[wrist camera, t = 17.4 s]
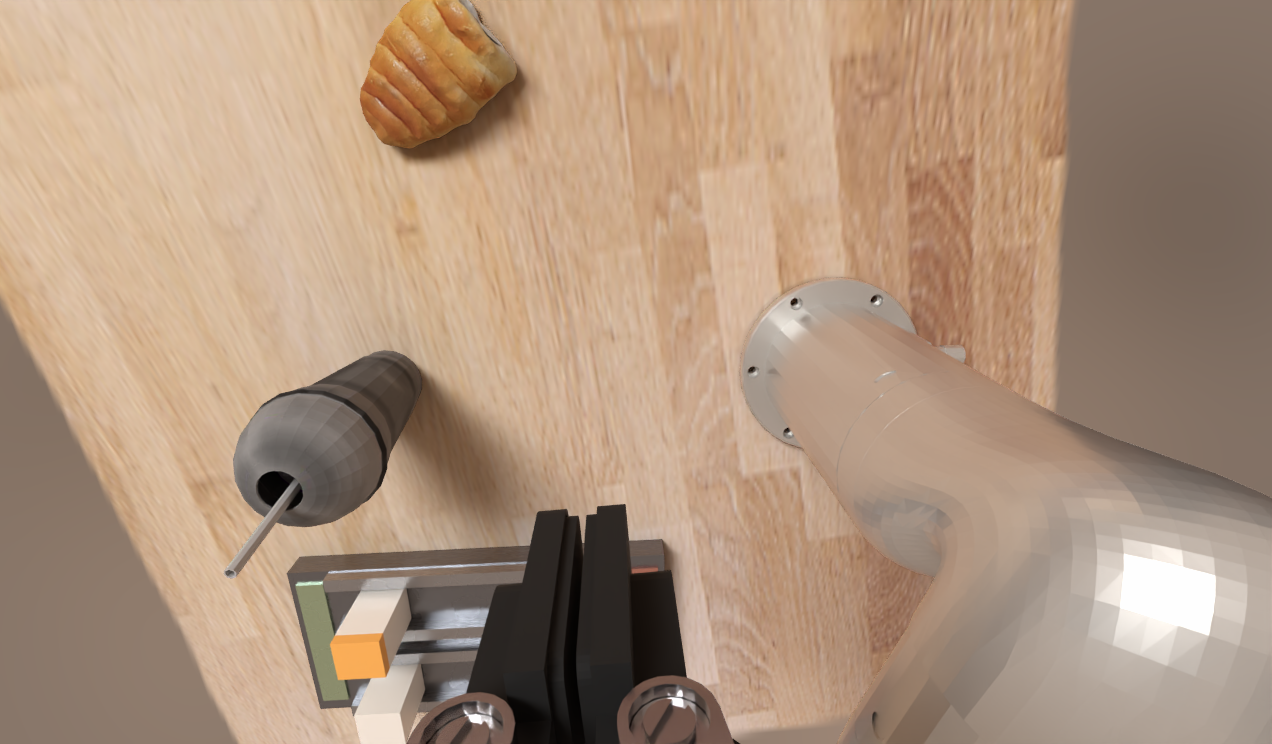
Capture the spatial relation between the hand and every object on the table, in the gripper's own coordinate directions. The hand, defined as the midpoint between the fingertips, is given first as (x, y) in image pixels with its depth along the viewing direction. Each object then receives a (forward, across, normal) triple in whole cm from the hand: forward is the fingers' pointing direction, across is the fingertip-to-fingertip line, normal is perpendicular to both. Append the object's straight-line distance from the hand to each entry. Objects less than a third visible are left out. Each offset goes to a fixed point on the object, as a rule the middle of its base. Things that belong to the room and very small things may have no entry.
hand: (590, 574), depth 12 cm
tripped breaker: (+30, +19, +23) cm, 42 cm away
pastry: (+32, +9, -13) cm, 36 cm away
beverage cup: (+32, +16, +6) cm, 36 cm away
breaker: (+30, +19, +30) cm, 46 cm away
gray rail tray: (+32, +12, +27) cm, 43 cm away
